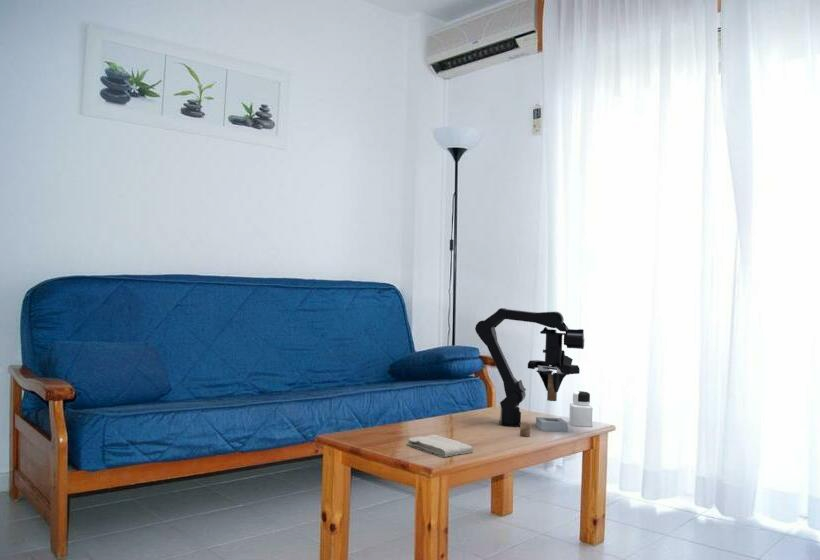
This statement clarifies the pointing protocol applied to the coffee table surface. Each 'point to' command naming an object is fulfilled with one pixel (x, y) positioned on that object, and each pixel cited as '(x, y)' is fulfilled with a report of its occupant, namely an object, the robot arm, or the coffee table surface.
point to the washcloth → (439, 445)
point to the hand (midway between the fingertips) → (552, 391)
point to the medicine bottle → (581, 410)
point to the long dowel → (551, 389)
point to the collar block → (551, 424)
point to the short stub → (525, 429)
